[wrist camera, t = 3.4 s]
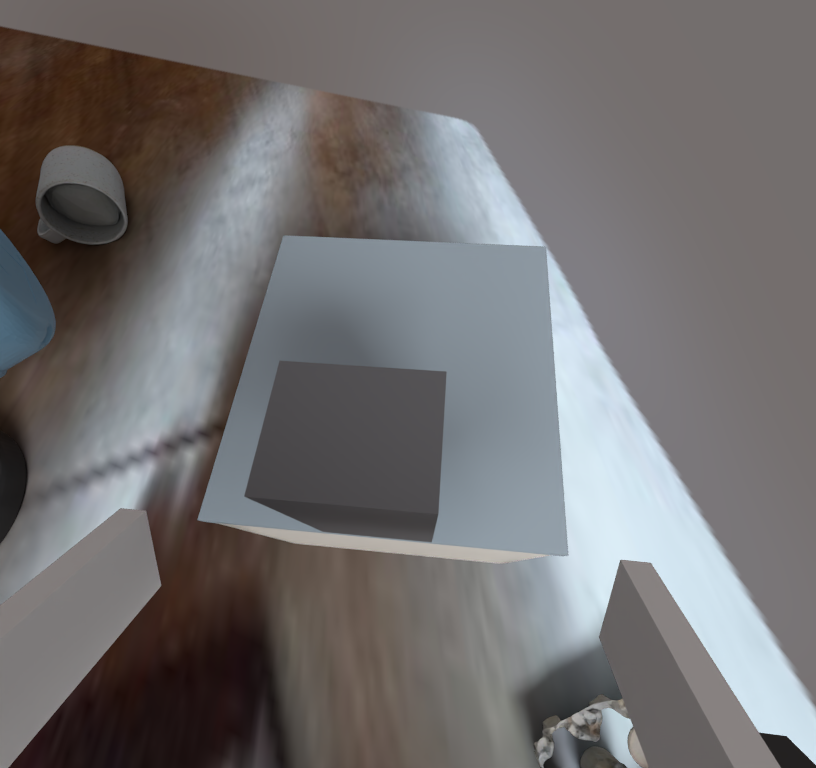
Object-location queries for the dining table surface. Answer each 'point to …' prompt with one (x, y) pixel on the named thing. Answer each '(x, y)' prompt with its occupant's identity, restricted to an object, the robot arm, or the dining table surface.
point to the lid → (399, 398)
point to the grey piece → (589, 735)
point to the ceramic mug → (80, 197)
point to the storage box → (391, 545)
